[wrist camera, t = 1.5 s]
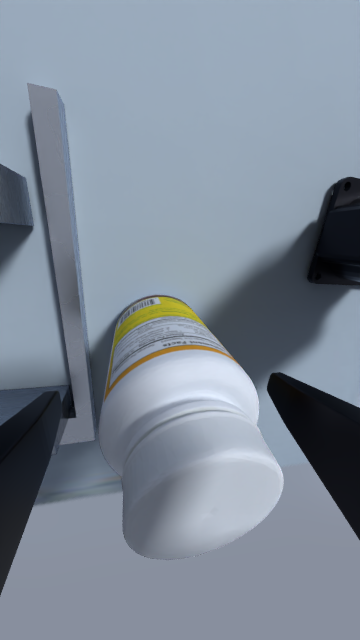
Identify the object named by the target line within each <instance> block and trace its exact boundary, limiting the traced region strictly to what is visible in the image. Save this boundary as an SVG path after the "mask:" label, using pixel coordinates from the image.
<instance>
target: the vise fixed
mask: <svg viewBox="0 0 360 640" xmlns="http://www.w3.org/2000/svg"><path fill="white" fill-rule="evenodd" d="M27 85H28V92H29V99H30V106H31V112H32V119H33V126H34V133H35V139H36V146H37V153H38V160H39V167H40V173H41V180H42V187H43V194H44V200H45V207H46V214H47V221H48V228H49V234H50V241H51V248H52V255H53V261H54V268H55V275H56V282H57V289H58V295H59V302H60V309H61V316H62V322H63V329H64V336H65V343H66V350H67V356H68V363H69V370H70V377H71V384H72V390H73V397H74V404H75V407H72V401H71V395H70V388H69V385H65V386H53V387H40V388H27V389H14V390H1V391H0V425H2V424H3V423H4V422H6V421H7V420H8V419H9V418H11V417H12V416H13V415H15V414H16V413H17V412H19V411H20V410H21V409H23V408H24V407H25V406H27V405H28V404H29V403H31V402H32V401H33V400H35V399H36V398H37V397H38V396H40V395H41V394H42V393H44V392H45V391H52V390H58V391H59V393H60V398H61V403H62V415H61V419H60V423H59V427H58V431H57V435H56V439H55V443H54V447H53V451H52V454H51V455H55V454H57V451H58V448H59V445H65V444H72V443H79V442H86V441H93V440H95V436H96V431H97V425H96V415H95V405H94V396H93V386H92V376H91V366H90V356H89V346H88V336H87V326H86V316H85V307H84V297H83V287H82V277H81V267H80V257H79V247H78V237H77V227H76V218H75V208H74V198H73V188H72V178H71V168H70V158H69V148H68V138H67V129H66V119H65V109H64V104H63V102H62V100H61V98H60V96H59V94H58V92H57V90H56V89H52V88H47V87H43V86H38V85H34V84H30V83H27Z"/></svg>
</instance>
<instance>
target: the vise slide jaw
mask: <svg viewBox="0 0 360 640" xmlns="http://www.w3.org/2000/svg"><path fill="white" fill-rule="evenodd" d="M0 223H8V224H19V225H31V226H34V223H33V217H32V211H31V205H30V199H29V193H28V188H27V182H26V178H25V177H23V176H21V175H19V174H18V173H16V172H14V171H12V170H10V169H9V168H7V167H5V166H3V165H1V164H0Z"/></svg>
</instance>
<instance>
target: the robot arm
mask: <svg viewBox="0 0 360 640" xmlns="http://www.w3.org/2000/svg"><path fill="white" fill-rule="evenodd" d="M344 185H345V188H344ZM316 274H317V275H316ZM315 276H316V277H315ZM308 281H309V282H312V283H315V284H339V285H360V179H359V178H354V177H346V178H343V179H341V180H339V181H338V182H337V183H336V186H335V188H334V192H333V195H332V198H331V201H330V205H329V208H328V211H327V215H326V218H325V221H324V224H323V228H322V231H321V234H320V237H319V241H318V244H317V247H316V250H315V254H314V257H313V260H312V264H311V267H310V270H309V273H308ZM267 391H268V394H269V396H270V397H271V399H272V401H273V403H274V405H275V407H276V409H277V411H278V413H279V414H280V416H281V418H282V420H283V422H284V423H285V425H286V427H287V428H288V430H289V431H290V433H291V435H292V436H293V438H294V439H295V441H296V442H297V444H298V445H299V447H300V448H301V450H302V452H303V453H304V455H305V456H306V458H307V459H308V461H309V462H310V464H311V465H312V467H313V469H314V470H315V472H316V473H317V475H318V476H319V478H320V479H321V481H322V482H323V484H324V486H325V487H326V489H327V490H328V492H329V493H330V495H331V496H332V498H333V500H334V501H335V503H336V504H337V506H338V507H339V509H340V510H341V512H342V513H343V515H344V517H345V518H346V520H347V521H348V523H349V524H350V526H351V527H352V529H353V531H354V532H355V533H356V535H357V537H358V538H359V540H360V408H359V407H356V406H354V405H352V404H350V403H348V402H345V401H343V400H341V399H339V398H336V397H334V396H332V395H330V394H328V393H325V392H323V391H321V390H319V389H316V388H314V387H312V386H310V385H307V384H305V383H303V382H301V381H299V380H296V379H294V378H292V377H290V376H287V375H285V374H283V373H280V372H277V373H272V374H271V375H270V378H269V382H268V385H267ZM61 415H62V403H61V398H60V393H59V391H58V390H52V391H45V392H44V393H42V394H41V395H40V396H38V397H37V398H36V399H35V400H33V401H32V402H31V403H29V404H28V405H27V406H25V407H24V408H23V409H21V410H20V411H19V412H17V413H16V414H15V415H13V416H12V417H11V418H9V419H8V420H7V421H6V422H4V423H3V424H2V425H0V595H1V592H2V589H3V587H4V584H5V581H6V579H7V576H8V573H9V570H10V567H11V565H12V562H13V559H14V557H15V554H16V551H17V548H18V546H19V543H20V540H21V538H22V535H23V532H24V529H25V526H26V524H27V521H28V518H29V515H30V513H31V510H32V507H33V505H34V502H35V499H36V497H37V494H38V491H39V488H40V486H41V483H42V480H43V477H44V475H45V472H46V469H47V466H48V464H49V461H50V458H51V454H52V451H53V447H54V443H55V439H56V435H57V431H58V427H59V423H60V419H61Z"/></svg>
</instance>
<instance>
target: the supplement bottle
mask: <svg viewBox="0 0 360 640" xmlns="http://www.w3.org/2000/svg"><path fill="white" fill-rule="evenodd" d="M258 416H259V400H258V395H257V391H256V389H255V387H254V384H253V382H252V381H251V379H250V377H249V376H248V375H247V374H246V372H245V371H244V370H243V368H242V367H241V366H240V365H239V364H238V363H237V362H236V360H235V359H234V358H233V357H232V356H231V355H230V353H229V352H228V351H227V350H226V349H225V348H224V347H223V345H222V344H221V343H220V342H219V341H218V339H217V338H216V337H215V336H214V335H213V334H212V333H211V331H210V330H209V329H208V328H207V327H206V326H205V324H204V323H203V322H202V321H201V320H200V319H199V317H198V316H197V315H196V314H195V313H194V312H193V310H192V309H191V308H190V307H189V306H188V305H187V304H185V303H184V302H183V301H181V300H180V299H178V298H175V297H173V296H169V295H163V294H155V295H148V296H145V297H142V298H140V299H138V300H136V301H134V302H133V303H131V304H130V305H129V306H128V307H127V308H126V309H125V310H124V311H123V312H122V314H121V315H120V317H119V319H118V321H117V324H116V328H115V333H114V339H113V345H112V350H111V356H110V363H109V368H108V374H107V380H106V386H105V392H104V398H103V404H102V409H101V415H100V421H99V432H98V434H99V443H100V448H101V450H102V453H103V455H104V457H105V459H106V461H107V462H108V464H109V465H110V466H111V467H112V468H113V470H114V471H115V472H116V473H117V474H119V475H120V476H122V488H123V534H124V538H125V540H126V542H127V544H128V545H129V547H130V548H131V549H133V550H134V551H135V552H136V553H138V554H140V555H142V556H144V557H148V558H152V559H163V560H173V559H182V558H189V557H193V556H197V555H201V554H204V553H207V552H210V551H212V550H215V549H218V548H220V547H222V546H224V545H227V544H229V543H230V542H232V541H234V540H236V539H238V538H239V537H241V536H242V535H244V534H246V533H247V532H249V531H250V530H251V529H252V528H253V527H255V526H256V525H257V524H259V523H260V522H261V521H262V520H263V519H264V518H265V517H266V516H267V515H268V514H269V513H270V512H271V510H272V509H273V508H274V506H275V505H276V503H277V502H278V500H279V498H280V496H281V493H282V488H283V474H282V471H281V468H280V466H279V464H278V463H277V461H276V459H275V458H274V456H273V454H272V453H271V451H270V449H269V448H268V446H267V444H266V443H265V441H264V439H263V436H262V434H261V432H260V430H259V428H258V427H257V426H256V425H257V421H258Z"/></svg>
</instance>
